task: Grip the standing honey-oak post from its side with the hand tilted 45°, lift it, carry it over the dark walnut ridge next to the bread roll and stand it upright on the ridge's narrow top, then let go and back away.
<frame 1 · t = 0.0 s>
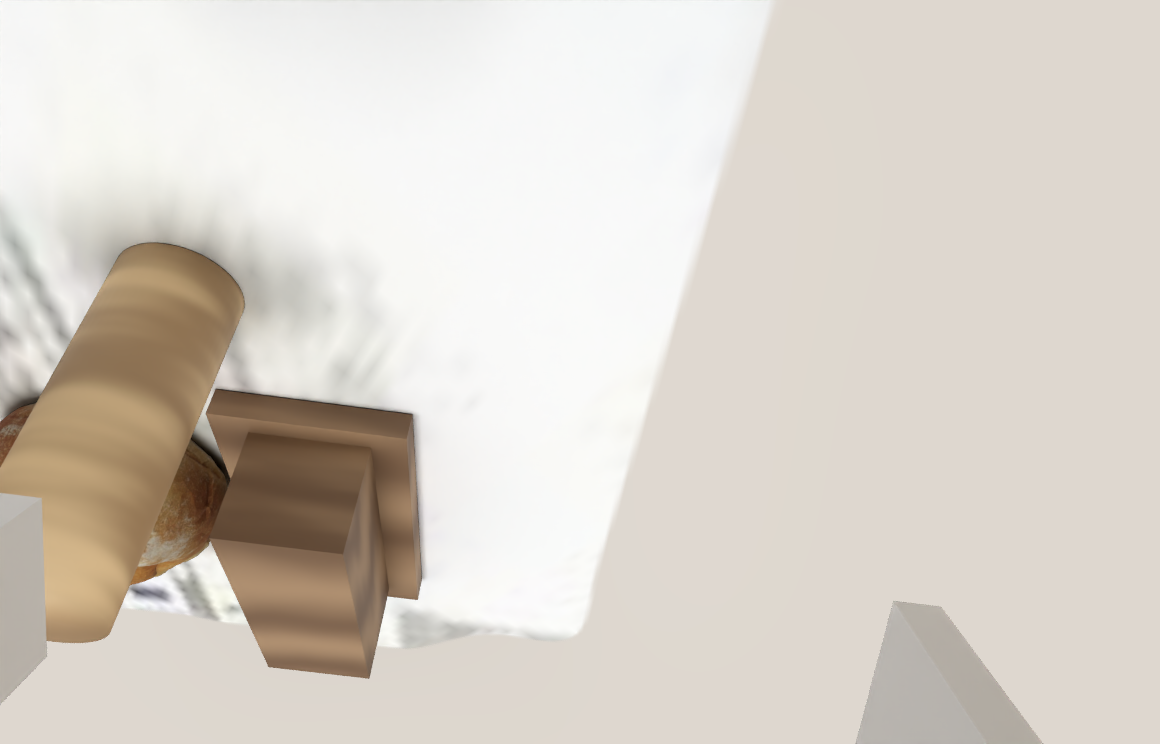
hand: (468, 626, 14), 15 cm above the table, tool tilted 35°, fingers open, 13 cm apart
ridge: (334, 498, 43), on the table
bread roll: (130, 455, 42), on the table
post: (180, 288, 31), on the table
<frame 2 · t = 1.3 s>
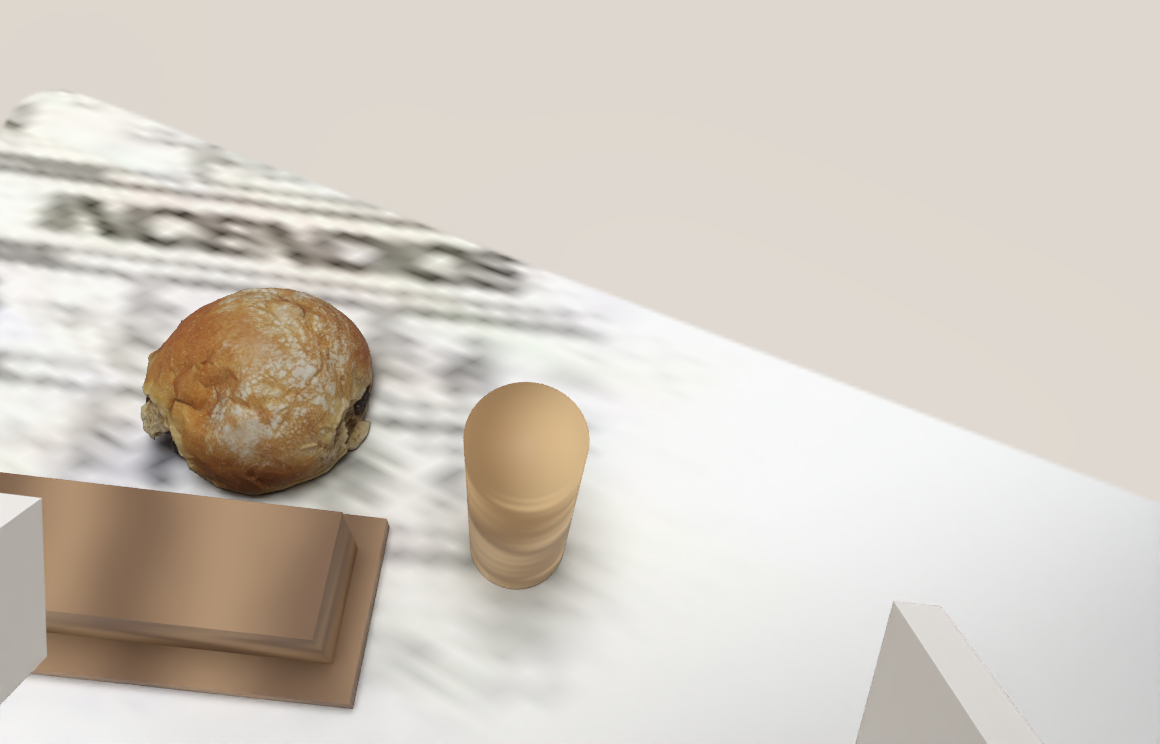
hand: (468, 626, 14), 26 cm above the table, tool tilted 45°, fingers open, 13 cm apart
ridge: (190, 593, 39), on the table
bread roll: (268, 407, 44), on the table
post: (517, 542, 42), on the table
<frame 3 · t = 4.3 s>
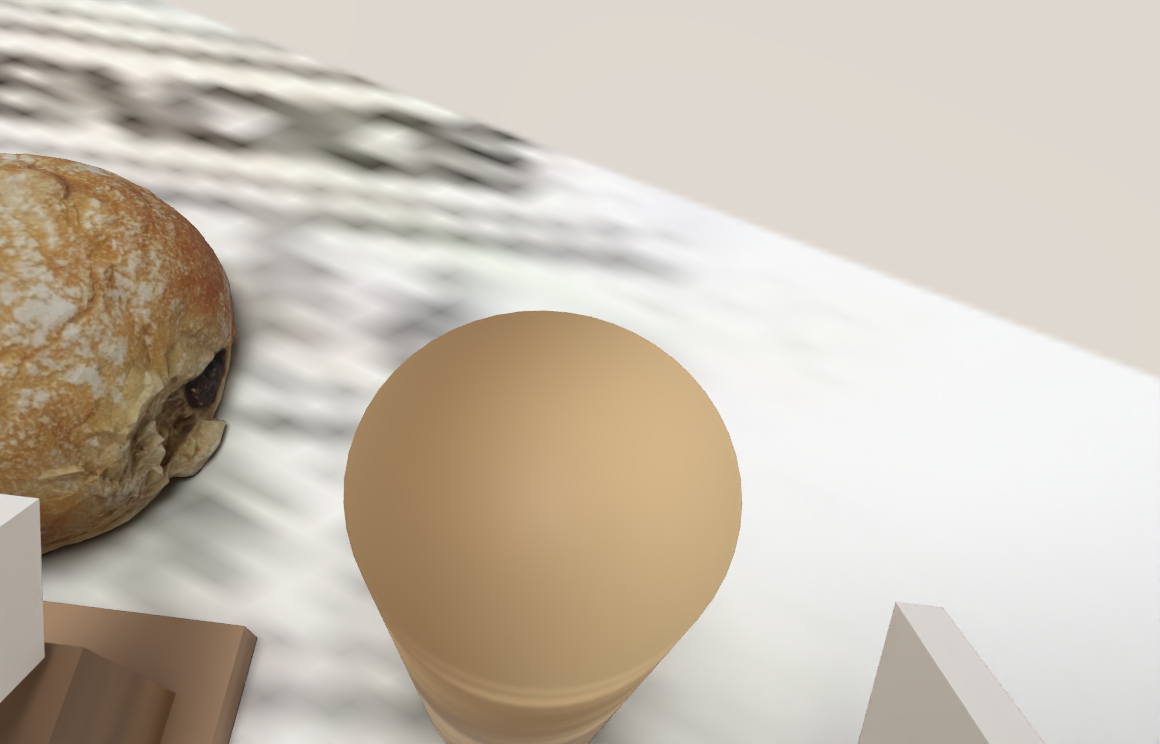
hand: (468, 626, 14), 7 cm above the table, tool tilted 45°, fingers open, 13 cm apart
bread roll: (33, 392, 23), on the table
post: (519, 670, 20), on the table
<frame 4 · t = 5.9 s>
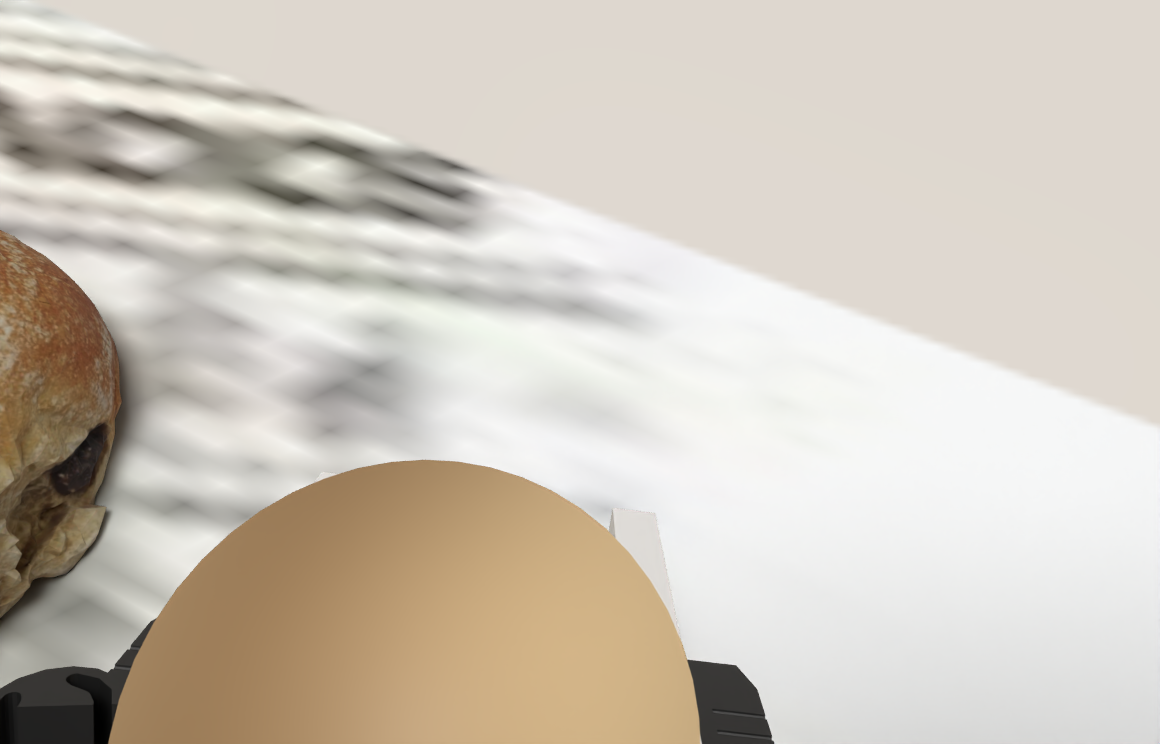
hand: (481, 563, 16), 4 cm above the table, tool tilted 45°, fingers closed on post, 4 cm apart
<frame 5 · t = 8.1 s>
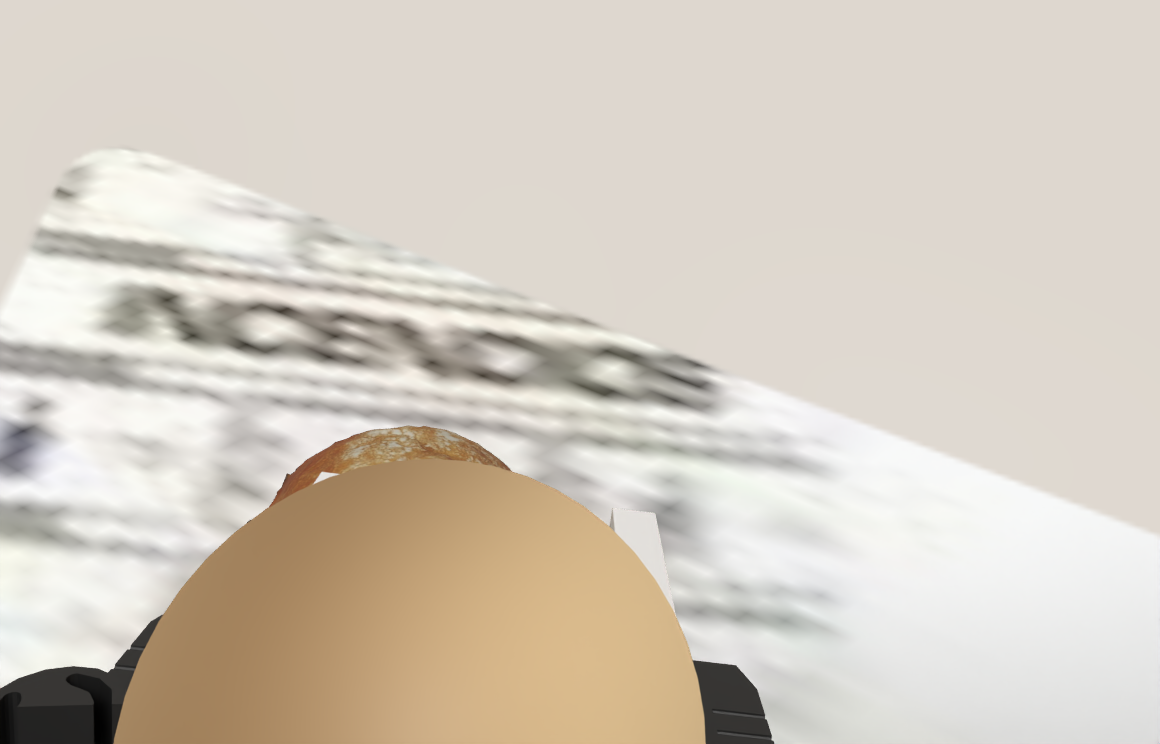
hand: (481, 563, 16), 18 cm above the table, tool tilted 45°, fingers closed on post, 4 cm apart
bread roll: (396, 580, 33), on the table
when the fingers open (11 cm above the table, at t = 10.0 s): post stays where it is, resting on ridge.
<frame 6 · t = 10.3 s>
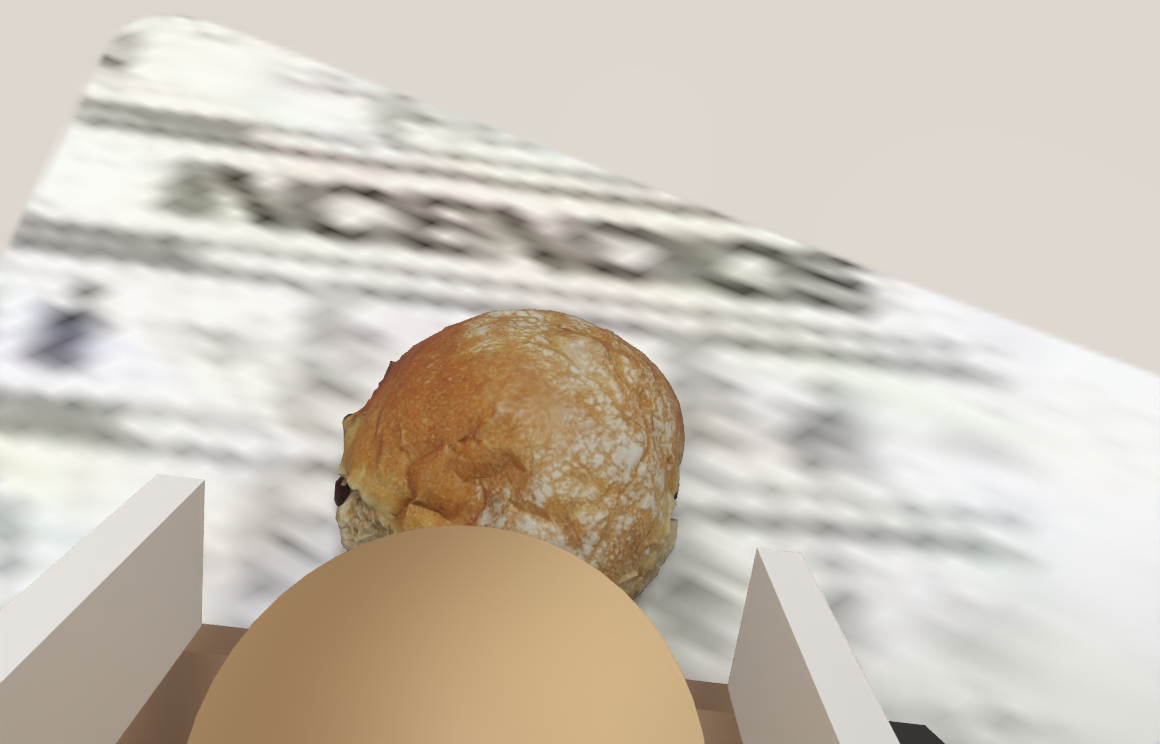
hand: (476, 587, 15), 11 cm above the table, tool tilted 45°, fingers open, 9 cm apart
bread roll: (512, 496, 28), on the table
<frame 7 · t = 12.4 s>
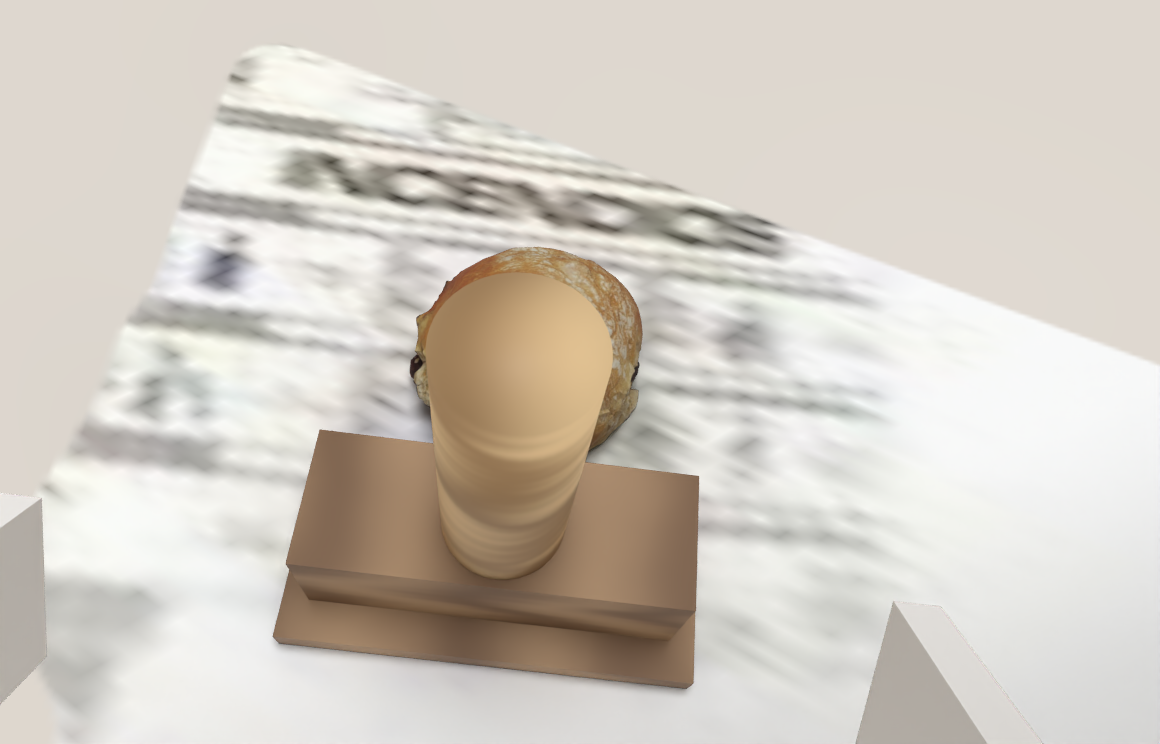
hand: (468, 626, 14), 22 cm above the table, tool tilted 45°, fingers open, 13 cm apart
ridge: (498, 566, 37), on the table
bread roll: (526, 376, 41), on the table
post: (503, 518, 31), point 6 cm above the table, touching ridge
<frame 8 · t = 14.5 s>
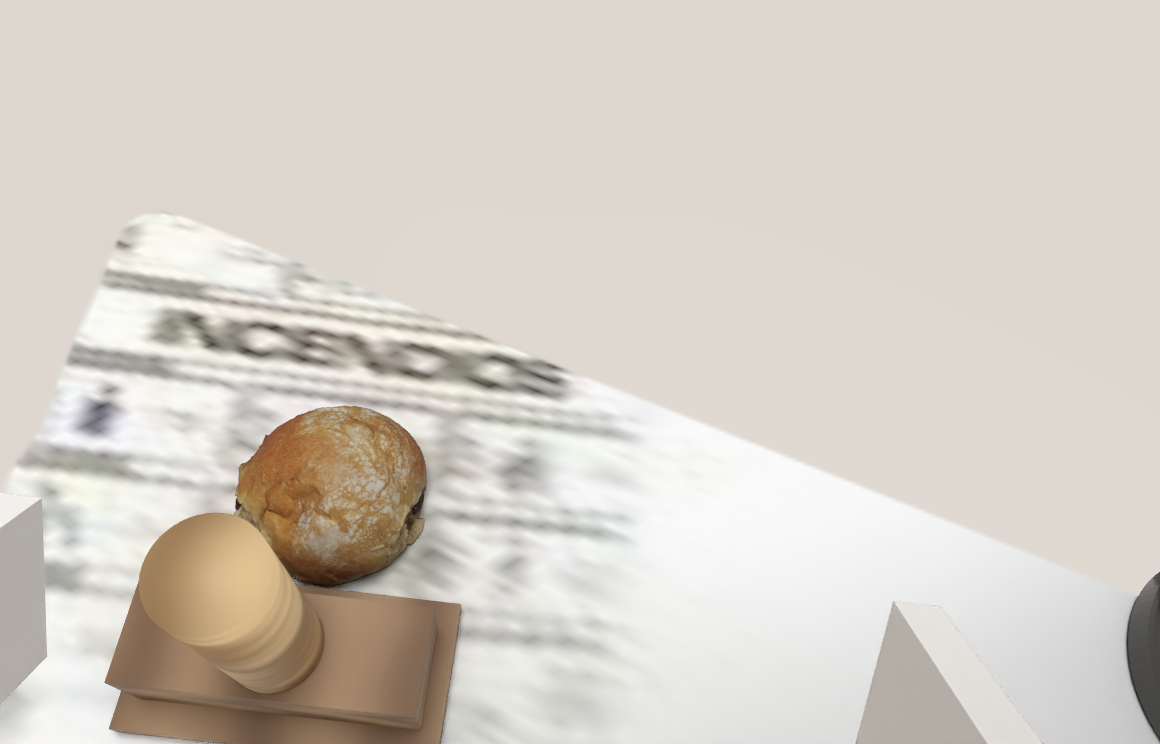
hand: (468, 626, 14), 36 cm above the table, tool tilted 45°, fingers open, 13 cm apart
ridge: (297, 667, 47), on the table
bread roll: (336, 506, 52), on the table
post: (276, 644, 42), point 6 cm above the table, touching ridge
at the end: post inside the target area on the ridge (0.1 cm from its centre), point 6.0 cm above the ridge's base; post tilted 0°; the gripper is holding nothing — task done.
